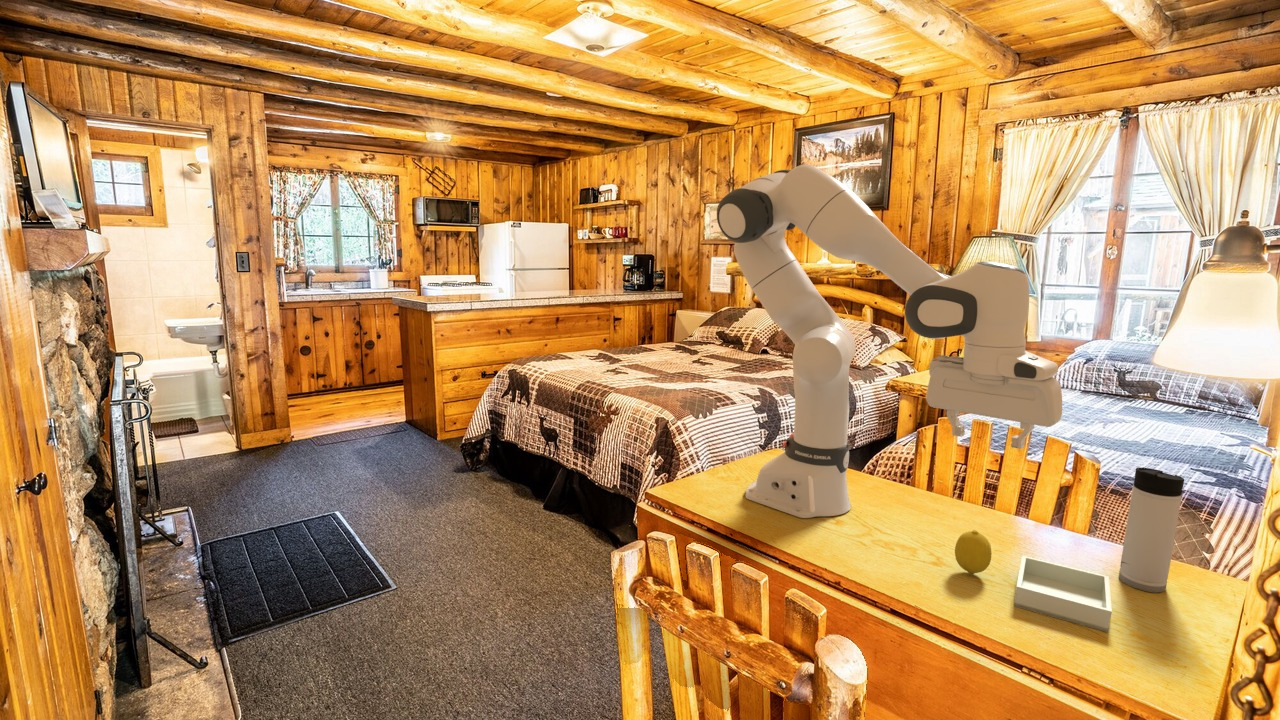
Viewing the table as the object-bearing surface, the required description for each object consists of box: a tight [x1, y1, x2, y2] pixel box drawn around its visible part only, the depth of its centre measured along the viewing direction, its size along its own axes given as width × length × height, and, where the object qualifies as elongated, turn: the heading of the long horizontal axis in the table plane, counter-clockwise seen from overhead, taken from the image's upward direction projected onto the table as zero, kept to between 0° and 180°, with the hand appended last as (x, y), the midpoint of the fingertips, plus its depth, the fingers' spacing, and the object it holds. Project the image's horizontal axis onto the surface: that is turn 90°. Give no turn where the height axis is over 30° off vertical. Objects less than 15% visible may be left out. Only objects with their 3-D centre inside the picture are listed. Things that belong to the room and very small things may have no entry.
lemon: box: [954, 530, 993, 575], centre depth 108 cm, size 6×6×8 cm
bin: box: [1013, 554, 1113, 634], centre depth 100 cm, size 12×12×3 cm
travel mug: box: [1118, 467, 1185, 593], centre depth 104 cm, size 6×7×20 cm
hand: (987, 441), depth 107 cm, fingers open, 8 cm apart
